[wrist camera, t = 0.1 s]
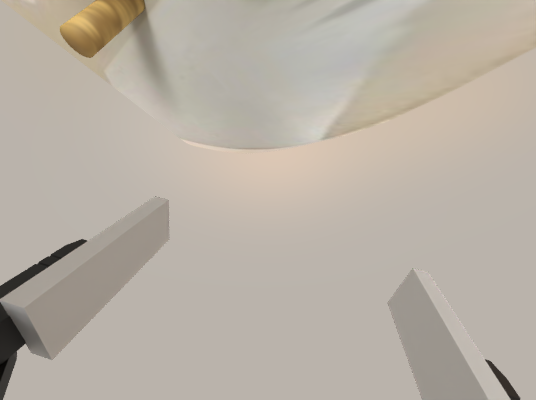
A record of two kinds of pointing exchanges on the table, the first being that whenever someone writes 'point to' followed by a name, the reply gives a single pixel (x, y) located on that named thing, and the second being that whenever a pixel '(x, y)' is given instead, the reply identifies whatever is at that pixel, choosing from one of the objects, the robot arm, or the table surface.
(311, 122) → the table surface
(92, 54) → the ochre pin
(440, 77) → the table surface
